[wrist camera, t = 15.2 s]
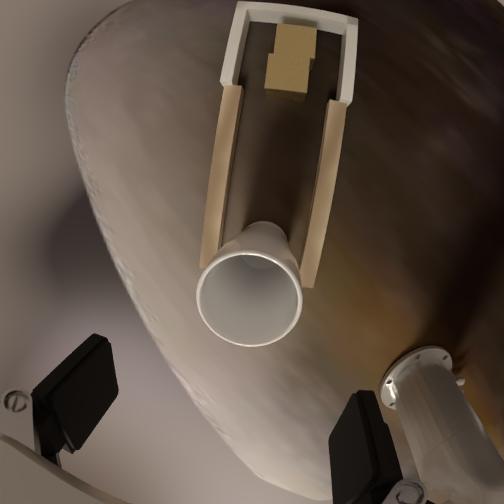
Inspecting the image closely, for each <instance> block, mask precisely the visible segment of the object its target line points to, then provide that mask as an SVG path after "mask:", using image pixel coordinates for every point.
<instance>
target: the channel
mask: <svg viewBox="0 0 504 504" xmlns="http://www.w3.org/2000/svg"><path fill="white" fill-rule="evenodd" d="M243 96H244V89H243V87H242V86H238V85H225V86H224V91H223V97H222V102H221V108H220V114H219V120H218V126H217V132H216V138H215V144H214V151H213V158H212V165H211V172H210V179H209V186H208V194H207V202H206V210H205V218H204V227H203V236H202V245H201V255H200V265H199V268H202V269H205V268H206V266H207V265H208V263H209V262H210V260H211V259H212V258H213V256H214V255H215V254H216V253H217V252H218V250H219V249H220V248H221V244H222V236H223V229H224V221H225V214H226V206H227V199H228V192H229V185H230V178H231V171H232V165H233V158H234V151H235V145H236V139H237V132H238V126H239V120H240V114H241V108H242V102H243ZM346 107H347V103H343V102H339V101H335V100H329V101H328V103H327V107H326V114H325V122H324V129H323V135H322V142H321V149H320V155H319V161H318V167H317V173H316V179H315V185H314V191H313V196H312V202H311V207H310V213H309V218H308V223H307V229H306V234H305V239H304V244H303V249H302V253H301V258H300V263H299V270H300V275H301V281H302V287H308V288H313V286H314V282H315V278H316V274H317V269H318V265H319V261H320V256H321V252H322V247H323V243H324V238H325V233H326V228H327V224H328V219H329V214H330V208H331V203H332V198H333V192H334V187H335V181H336V175H337V169H338V163H339V157H340V151H341V144H342V137H343V130H344V123H345V115H346Z"/></svg>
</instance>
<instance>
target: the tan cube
mask: <svg viewBox="0 0 504 504" xmlns="http://www.w3.org/2000/svg"><path fill="white" fill-rule="evenodd" d="M316 34H317V28H313V27H307V26H299V25H291V24H281V23H277V30H276V38H275V46H274V54H283V55H292V56H299V57H307V58H310V64H309V72H311V70H312V67H313V63H314V59H315V48H316Z"/></svg>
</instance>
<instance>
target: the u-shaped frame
mask: <svg viewBox="0 0 504 504" xmlns="http://www.w3.org/2000/svg"><path fill="white" fill-rule="evenodd" d="M250 21H255V22H268V23H281V24H291V25H299V26H307V27H313V28H317V29H318V30H323V31H328V32H332V33H337V34H341V35H342V44H341V55H340V66H339V75H338V85H337V93H336V101H339V102H343V103H347V106H348V105H349V104H350V103H351V102H352V97H353V87H354V77H355V65H356V51H357V34H358V19H357V18H354V17H350V16H346V15H342V14H337V13H333V12H328V11H323V10H318V9H312V8H306V7H300V6H293V5H285V4H275V3H264V2H245V1H238V3H237V7H236V11H235V15H234V19H233V23H232V27H231V31H230V36H229V40H228V45H227V49H226V54H225V59H224V64H223V68H222V73H221V78H220V82H221V84H222V85H223V87H224V86H225V85H237V84H238V78H239V73H240V68H241V63H242V57H243V52H244V47H245V42H246V38H247V33H248V28H249V23H250Z"/></svg>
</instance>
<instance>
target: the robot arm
mask: <svg viewBox="0 0 504 504" xmlns="http://www.w3.org/2000/svg"><path fill="white" fill-rule="evenodd" d="M451 370H452V358H451V356H450V354H449V353H448V352H447V351H446V350H445V349H444V348H442V347H440V346H433V345H430V346H424V347H421V348H418V349H415V350H413V351H411V352H409V353H408V354H406V355H404V356H403V357H402V358H400V359H399V360H398V361H397V362H396V363H395V364H394V365H393V366H392V367H391V368H390V369H389V370H388V371H387V373H386V374H385V376H384V378H383V379H382V382H381V385H380V396H381V399H382V402H383V403H384V404H385V405H386V406H387V407H389V408H391V409H395V410H397V413H398V415H399V418H400V421H401V423H402V426H403V429H404V432H405V434H406V437H407V440H408V443H409V446H410V449H411V452H412V455H413V458H414V461H415V464H416V467H417V470H418V473H419V476H420V479H421V481H422V482H423V483H422V482H420V481H419V480H416V479H413V478H406V479H403V476H402V472H401V468H400V465H399V461H398V458H397V454H396V451H395V447H394V444H393V440H392V437H391V434H390V430H389V427H388V425H387V424H386V423H384V421H383V418H382V415H381V411H380V408H379V405H378V402H377V399H376V396H375V393H374V391H369V390H358V391H357V393H356V394H355V393H353V394H352V395H351V397H350V399H349V401H348V403H347V405H346V407H345V409H344V411H343V413H342V415H341V416H340V418H339V420H338V422H337V424H336V425H335V427H334V429H333V431H332V432H331V434H330V436H329V442H328V443H329V454H330V466H331V479H332V495H333V504H435V503H433V502H431V501H429V500H427V497H428V492H427V489H426V487H425V486H427V487H428V488H430V489H432V490H435V491H438V492H443V493H446V494H448V495H449V496H450V497H449V499H448V500H447V501H446V502H444V503H443V504H504V460H503V458H502V457H501V455H500V454H499V452H498V450H497V449H496V447H495V445H494V444H493V442H492V440H491V439H490V437H489V435H488V433H487V432H486V430H485V428H484V426H483V425H482V423H481V421H480V420H479V418H478V416H477V415H476V413H475V411H474V410H473V408H472V406H471V405H470V403H469V401H468V400H467V398H466V397H465V395H464V394H463V389H462V387H459V386H458V385H463V384H464V382H465V379H464V377H457V378H456V377H455V376H454V374H453V373H452V371H451ZM117 395H118V385H117V379H116V374H115V367H114V361H113V354H112V348H111V343H109V342H108V339H107V338H106V337H103V336H100V335H98V334H95V333H94V334H92V335H91V336H90V337H89V338H87V340H85V341H84V342H83V343H82V344H81V345H80V346H79V347H78V348H76V349H75V350H74V351H73V352H72V353H71V354H70V355H69V356H68V357H67V358H66V359H65V360H63V362H61V364H59V365H58V366H57V367H56V368H55V369H54V370H53V371H52V372H51V373H50V374H49V375H48V376H47V377H46V378H45V379H44V380H43V381H42V382H40V383H39V384H38V386H36V387H35V388H34V389H33V392H32V393H31V394H30V393H29V392H28V391H26V390H24V389H22V388H11V389H9V390H7V391H6V392H5V393H4V394H3V395H2V397H1V400H0V504H131V503H128V502H125V501H123V500H121V499H119V498H116V497H114V496H112V495H110V494H108V493H106V492H103V491H101V490H99V489H97V488H95V487H93V486H91V485H90V484H88V483H86V482H84V481H82V480H80V479H79V478H77V477H75V476H73V475H72V474H70V473H68V472H66V471H64V470H63V469H62V465H61V460H60V455H59V452H60V450H61V449H62V448H63V449H64V450H66V451H68V452H69V453H71V454H73V453H74V451H75V450H79V449H80V448H81V447H82V445H83V444H84V443H85V441H86V440H87V438H88V437H89V435H90V434H91V433H92V431H93V430H94V428H95V427H96V425H97V424H98V423H99V421H100V420H101V418H102V417H103V415H104V414H105V412H106V411H107V410H108V408H109V407H110V406H111V404H112V403H113V401H114V400H115V399H116V397H117Z"/></svg>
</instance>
